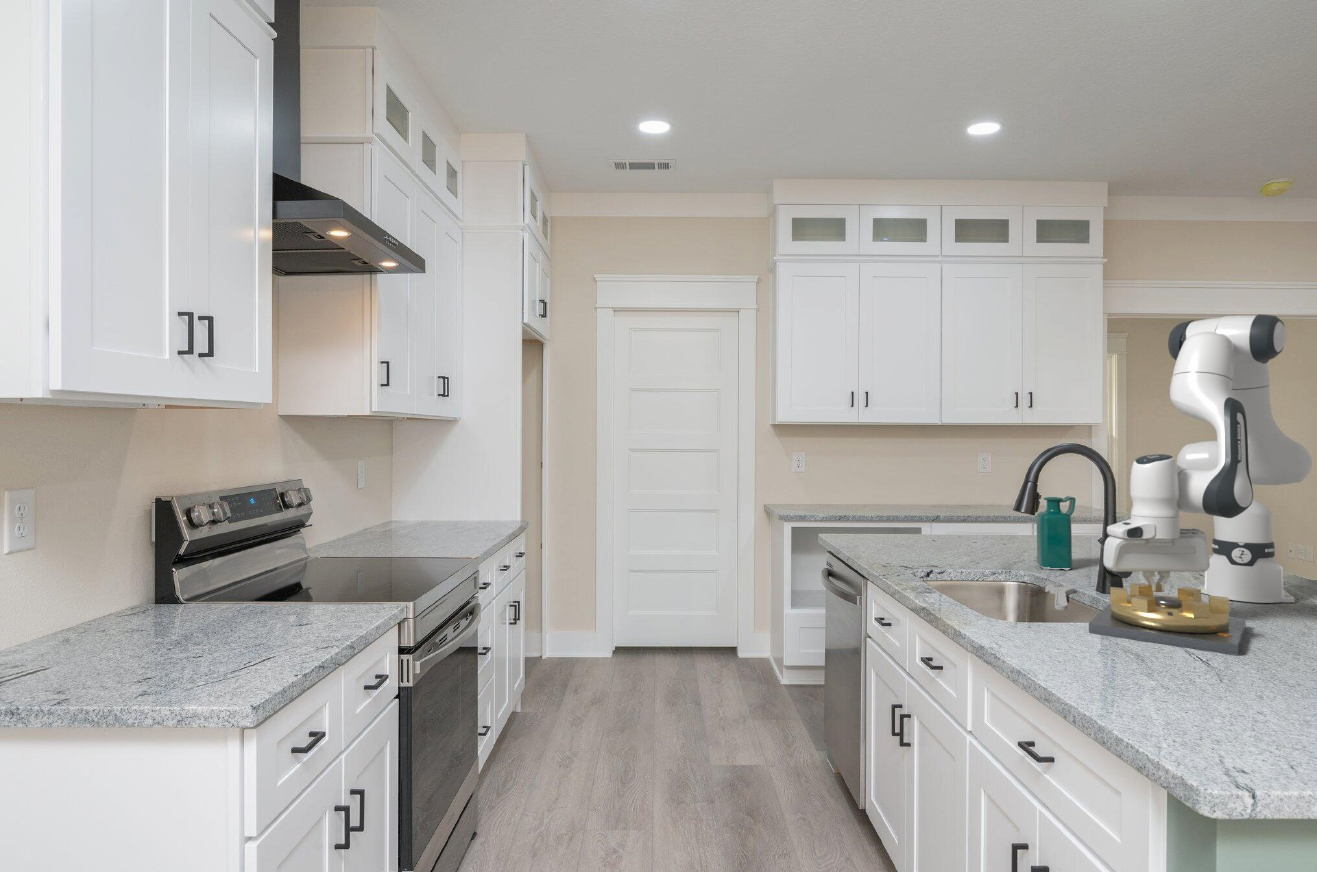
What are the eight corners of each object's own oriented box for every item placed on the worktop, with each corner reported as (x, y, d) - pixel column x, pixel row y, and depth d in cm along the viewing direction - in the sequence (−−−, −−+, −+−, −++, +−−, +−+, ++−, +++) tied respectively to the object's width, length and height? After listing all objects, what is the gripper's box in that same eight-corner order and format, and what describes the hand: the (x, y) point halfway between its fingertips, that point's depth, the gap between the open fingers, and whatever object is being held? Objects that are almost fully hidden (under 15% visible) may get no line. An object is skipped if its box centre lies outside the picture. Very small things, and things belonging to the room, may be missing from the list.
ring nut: (1110, 604, 161) (1110, 580, 161) (1222, 614, 150) (1221, 589, 150) (1110, 624, 144) (1109, 597, 144) (1235, 638, 133) (1235, 609, 133)
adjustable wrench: (1067, 613, 165) (1067, 605, 165) (1036, 609, 168) (1036, 602, 168) (1075, 591, 185) (1074, 585, 185) (1047, 589, 189) (1047, 582, 189)
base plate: (1111, 610, 164) (1111, 601, 164) (1245, 628, 148) (1245, 617, 148) (1088, 632, 146) (1088, 622, 146) (1238, 655, 130) (1237, 643, 130)
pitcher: (1042, 569, 214) (1041, 497, 214) (1036, 564, 222) (1034, 495, 222) (1078, 571, 211) (1077, 497, 211) (1071, 566, 219) (1069, 495, 219)
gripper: (1196, 526, 156) (1198, 588, 156) (1099, 527, 159) (1100, 588, 159) (1215, 530, 150) (1217, 594, 150) (1113, 530, 152) (1115, 594, 152)
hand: (1156, 591), depth 154 cm, fingers closed
